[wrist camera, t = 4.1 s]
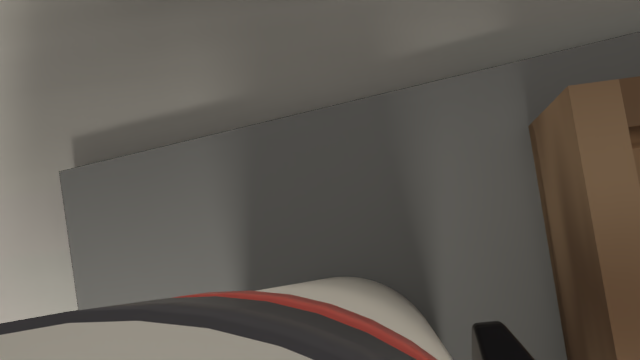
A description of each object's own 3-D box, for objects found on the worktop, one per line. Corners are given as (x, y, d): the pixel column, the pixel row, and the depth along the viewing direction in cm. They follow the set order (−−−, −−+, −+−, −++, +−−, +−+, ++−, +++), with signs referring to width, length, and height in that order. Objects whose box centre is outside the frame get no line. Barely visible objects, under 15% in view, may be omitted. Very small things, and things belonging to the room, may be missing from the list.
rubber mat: (921, -27, 16) (948, -43, 15) (1155, 534, 13) (1204, 551, 12) (73, 175, 18) (59, 171, 17) (148, 695, 15) (134, 718, 14)
